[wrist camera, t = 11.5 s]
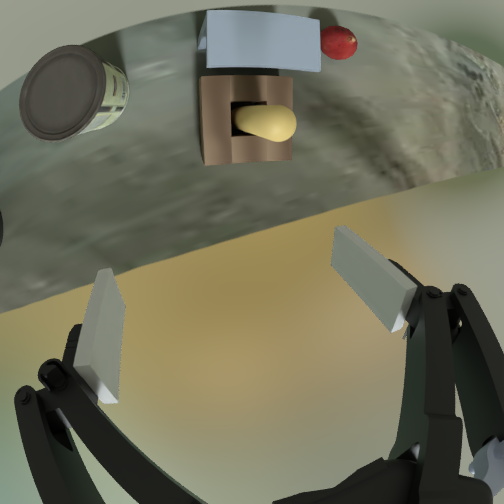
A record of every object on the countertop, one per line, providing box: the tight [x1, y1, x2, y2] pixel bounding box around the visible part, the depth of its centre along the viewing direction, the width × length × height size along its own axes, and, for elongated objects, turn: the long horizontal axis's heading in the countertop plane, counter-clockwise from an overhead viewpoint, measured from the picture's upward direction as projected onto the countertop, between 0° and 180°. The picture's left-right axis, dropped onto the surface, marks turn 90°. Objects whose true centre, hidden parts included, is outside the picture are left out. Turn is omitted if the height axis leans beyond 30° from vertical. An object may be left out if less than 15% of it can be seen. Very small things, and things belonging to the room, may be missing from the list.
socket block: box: [198, 75, 292, 166], centre depth 35 cm, size 12×12×5 cm
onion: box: [320, 26, 357, 60], centre depth 30 cm, size 6×6×8 cm
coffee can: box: [19, 45, 129, 143], centre depth 24 cm, size 10×10×14 cm
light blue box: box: [198, 10, 321, 72], centre depth 27 cm, size 12×7×13 cm, turn 91°
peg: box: [231, 105, 296, 142], centre depth 30 cm, size 4×4×16 cm
